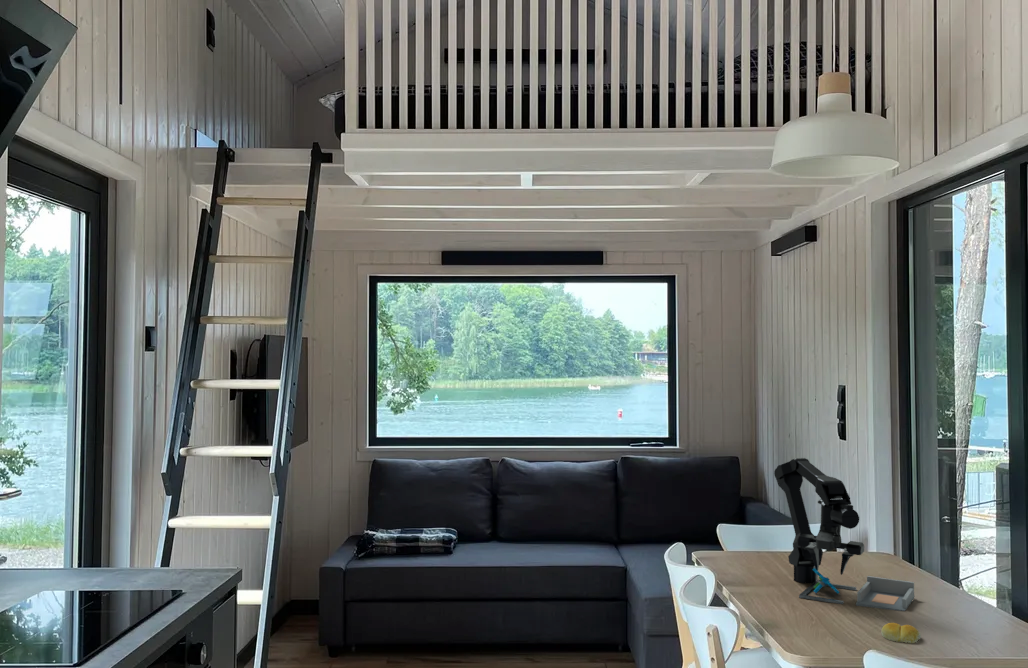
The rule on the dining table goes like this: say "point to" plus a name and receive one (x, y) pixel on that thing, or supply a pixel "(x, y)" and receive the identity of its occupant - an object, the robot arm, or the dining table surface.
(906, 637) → the bread roll
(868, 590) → the grey open tray
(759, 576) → the dining table surface
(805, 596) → the frame
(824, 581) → the gear
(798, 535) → the robot arm
